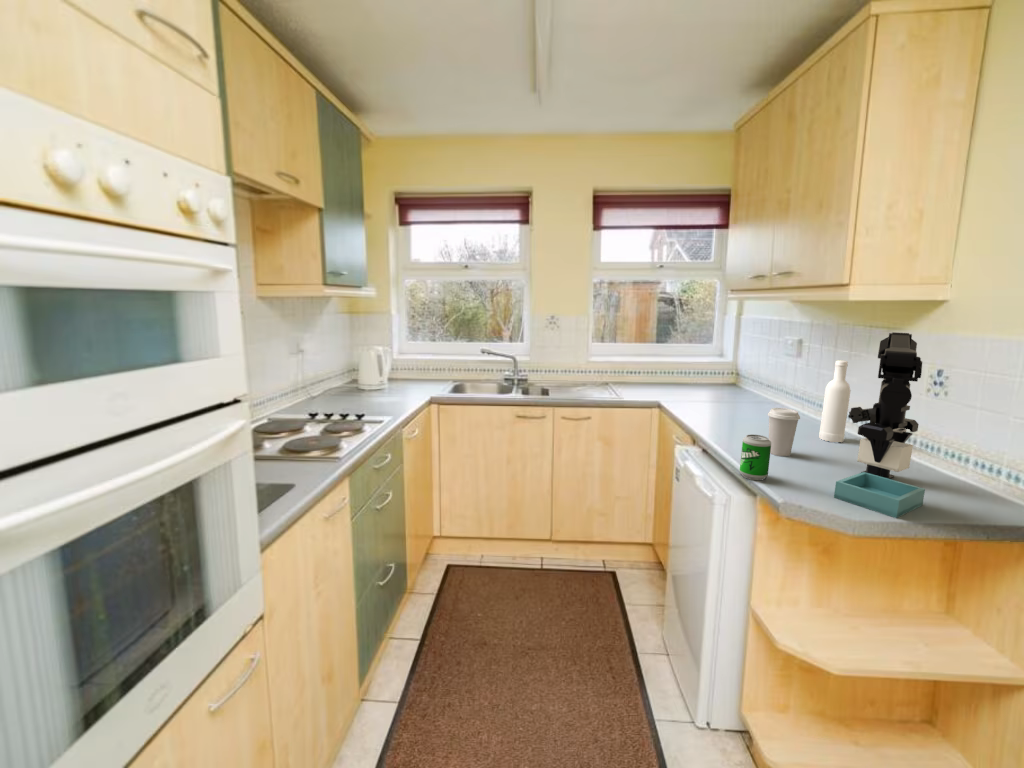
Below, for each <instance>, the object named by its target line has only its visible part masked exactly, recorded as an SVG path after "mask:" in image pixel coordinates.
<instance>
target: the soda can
mask: <svg viewBox="0 0 1024 768" xmlns="http://www.w3.org/2000/svg"><path fill="white" fill-rule="evenodd" d="M770 452H771V441H770V440H769V437H767V436H765V435H760V434H747V435H746V436H745V437H742V444H741V453H740V463H739V473H740V474H741V475H742V476H743V478H745V479H748V480H752V481H763V480H764V479H766V478H767V477H768V476H769V470H770V469H769V468H770V458H771V454H770ZM762 479H763V480H762Z"/></svg>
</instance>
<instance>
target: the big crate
mask: <svg viewBox="0 0 1024 768" xmlns="http://www.w3.org/2000/svg"><path fill="white" fill-rule="evenodd" d="M861 472H862V473H861ZM861 472H859V473H857V474H856V473H855V474H853V475H850V476H848V477H844V478H842V479H839V480H836V481H835V487H834V494H833V498H834V499H837V500H841V501H843V502H846V503H848V504H849V503H850V504H852V505H855V506H858V507H862V508H865V509H867V510H871V511H873V512H877V513H880V514H882V515H885V516H889V517H892V518H894V519H897V518H900V517H902V516H903V515H905V514H909V513H910V512H912V511H913V510H916V509H918V508H920V507H922V506H923V503H924V499H925V498H924V497H925V491H926V488H923V487H920V486H916V485H914V484H913V485H912V484H910V483H906V482H901V481H899V480H894V479H892V478H891V479H888V478H884V477H880V476H877V475H873V474H870V473H866V472H863V471H861Z"/></svg>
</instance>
